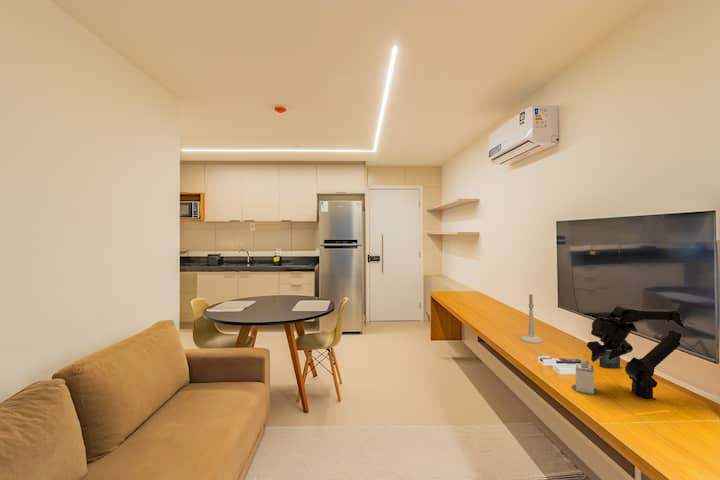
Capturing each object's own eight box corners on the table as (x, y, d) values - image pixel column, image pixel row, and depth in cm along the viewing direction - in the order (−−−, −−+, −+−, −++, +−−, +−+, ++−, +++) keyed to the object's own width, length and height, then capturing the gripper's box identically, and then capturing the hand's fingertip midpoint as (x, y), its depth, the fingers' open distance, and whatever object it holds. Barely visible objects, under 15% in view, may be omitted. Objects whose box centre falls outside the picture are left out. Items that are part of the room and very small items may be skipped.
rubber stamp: (593, 388, 151) (593, 358, 150) (593, 394, 145) (593, 363, 145) (576, 385, 154) (575, 356, 154) (576, 390, 149) (575, 361, 149)
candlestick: (545, 343, 213) (545, 295, 212) (524, 343, 215) (523, 295, 214) (538, 337, 226) (538, 292, 225) (517, 336, 228) (517, 291, 227)
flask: (618, 366, 176) (618, 345, 175) (621, 368, 173) (621, 347, 173) (598, 365, 178) (598, 345, 177) (601, 367, 175) (601, 347, 175)
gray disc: (604, 396, 146) (604, 393, 146) (583, 398, 144) (583, 395, 144) (586, 385, 155) (585, 383, 155) (566, 387, 154) (566, 385, 154)
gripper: (619, 320, 154) (603, 344, 162) (585, 322, 150) (570, 347, 157) (641, 338, 145) (623, 363, 152) (605, 342, 140) (588, 367, 148)
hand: (600, 360), depth 153 cm, fingers open, 9 cm apart
